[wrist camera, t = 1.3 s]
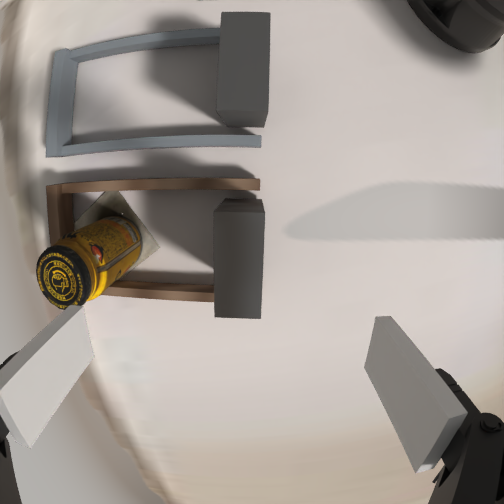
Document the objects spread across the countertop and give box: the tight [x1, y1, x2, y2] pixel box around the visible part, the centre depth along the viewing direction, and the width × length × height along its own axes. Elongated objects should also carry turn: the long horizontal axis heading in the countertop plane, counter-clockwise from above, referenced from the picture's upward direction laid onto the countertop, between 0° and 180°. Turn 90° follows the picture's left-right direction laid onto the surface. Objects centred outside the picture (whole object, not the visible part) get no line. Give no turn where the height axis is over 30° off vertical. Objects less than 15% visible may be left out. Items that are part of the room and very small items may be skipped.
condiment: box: [36, 191, 160, 310], centre depth 26 cm, size 7×8×12 cm
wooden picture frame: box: [46, 178, 265, 319], centre depth 27 cm, size 22×12×9 cm, turn 88°
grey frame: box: [46, 12, 270, 157], centre depth 22 cm, size 22×12×9 cm, turn 88°
